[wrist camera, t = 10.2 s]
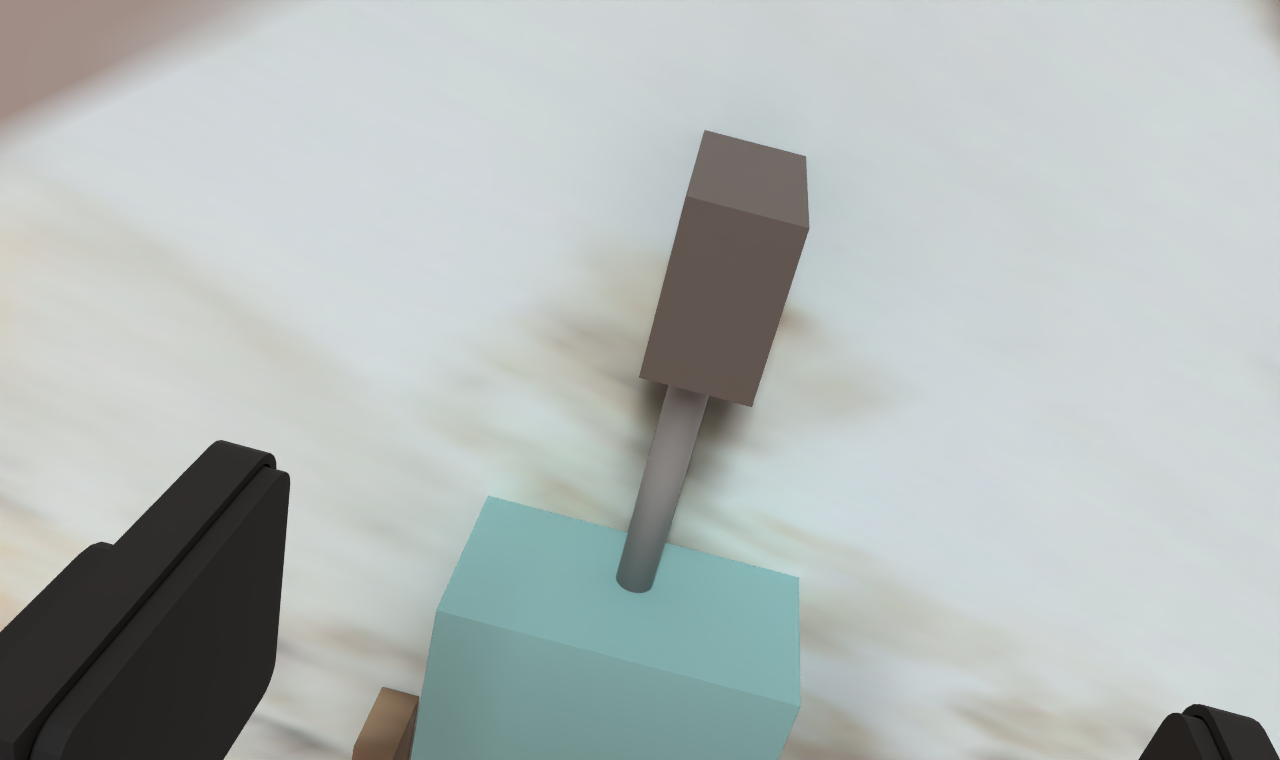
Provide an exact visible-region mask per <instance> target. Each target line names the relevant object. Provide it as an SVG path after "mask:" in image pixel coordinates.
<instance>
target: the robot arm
mask: <svg viewBox="0 0 1280 760" xmlns="http://www.w3.org/2000/svg"><path fill="white" fill-rule="evenodd" d="M289 492H290V477H289V474H288V473H287V472H284V471H280V470H276V460H275V457H274V456H273V455H272V454H271V453H267V452H264V451H260V450H256V449H253V448H249V447H245V446H241V445H238V444H234V443H230V442H227V441H223V440H220V441H216V442H214V443H213V444H212V445H211V446H209V447H208V448H207V450H206V451H205V452H204V453H203V454H202V455H201V456H200V457H199V458H198V459H197V460H196V461H195V462H194V463H193V464H192V465H191V466H190V467H189V468H188V469H187V470H186V471H185V472H184V473H183V474H182V475H181V476H180V477H179V478H178V479H177V480H176V481H175V482H174V483H173V484H172V485H171V486H170V488H169V489H168V490H167V491H166V492H165V493H164V494H163V495H162V496H161V497H160V498H159V499H158V500H157V501H156V502H155V503H154V504H153V505H152V506H151V507H150V508H149V509H148V510H147V511H146V512H145V513H144V514H143V515H142V516H141V517H140V518H139V519H138V520H137V521H136V522H135V523H134V524H133V525H132V527H131V528H130V529H129V530H128V531H127V532H126V533H125V534H124V535H123V536H122V537H121V538H120V539H119V540H118V541H117V542H116V543H115V544H114V545H112V544H108V543H105V542H99V543H96V544H93V545H90V546H89V547H88V548H87V549H85V550H84V551H83V552H81V553H80V554H79V555H78V556H77V557H76V558H75V559H74V560H73V561H72V562H71V563H70V564H69V565H68V566H67V567H66V568H65V569H64V570H63V571H62V572H61V573H60V574H59V575H58V576H57V577H56V578H55V579H54V580H53V581H52V582H51V583H50V584H49V585H48V586H47V587H46V588H45V589H44V590H43V591H42V592H41V593H40V594H39V595H38V596H36V597H35V598H34V599H33V600H32V601H31V602H30V603H29V604H28V605H27V606H26V607H25V608H24V609H23V610H22V611H21V612H20V613H19V614H18V615H17V616H16V617H15V618H14V619H13V620H12V621H11V622H10V623H9V624H8V625H7V626H6V627H5V628H4V629H3V630H2V631H1V632H0V760H223V759H224V758H225V756H226V755H227V753H228V751H229V750H230V748H231V747H232V745H233V743H234V742H235V740H236V739H237V737H238V735H239V734H240V732H241V731H242V729H243V728H244V726H245V724H246V723H247V721H248V720H249V718H250V716H251V715H252V713H253V712H254V710H255V708H256V707H257V705H258V704H259V702H260V700H261V699H262V697H263V695H264V694H265V692H266V690H267V687H268V685H269V683H270V680H271V677H272V674H273V670H274V667H275V660H276V649H277V637H278V625H279V613H280V601H281V589H282V577H283V565H284V552H285V540H286V528H287V516H288V504H289ZM1139 760H1280V759H1279V757H1278V755H1277V753H1276V751H1275V749H1274V747H1273V745H1272V743H1271V741H1270V739H1269V738H1268V736H1267V734H1266V732H1265V730H1264V729H1263V727H1262V726H1261V725H1260V723H1259V722H1257V721H1256V720H1254V719H1252V718H1250V717H1246V716H1242V715H1238V714H1235V713H1231V712H1227V711H1224V710H1220V709H1216V708H1213V707H1209V706H1205V705H1201V704H1193V705H1191V706H1190V707H1188V708H1186V709H1185V710H1184V712H1183V713H1182V714H1180V713H1172V714H1170V715H1168V716H1167V717H1166V718H1165V720H1164V721H1163V722H1162V724H1161V725H1160V727H1159V728H1158V730H1157V731H1156V733H1155V735H1154V736H1153V738H1152V739H1151V741H1150V742H1149V744H1148V746H1147V747H1146V749H1145V750H1144V752H1143V753H1142V755H1141V756H1140V758H1139Z"/></svg>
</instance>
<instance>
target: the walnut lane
mask: <svg viewBox="0 0 1280 760" xmlns="http://www.w3.org/2000/svg"><path fill="white" fill-rule="evenodd" d="M418 700H419V697H418V696H414V695H410V694H406V693H402V692H399V691H395V690H391V689H387V688H384V687H382V689H381V691H380V693H379V695H378V697H377V699H376V701H375V703H374V706H373V708H372V710H371V712H370V714H369V716H368V718H367V720H366V722H365V724H364V727H363V729H362V731H361V733H360V735H359V737H358V739H357V741H356V743H355V745H354V749H353V756H352V760H408V757H409V752H410V746H411V740H412V734H413V729H414V723H415V717H416V711H417V705H418Z"/></svg>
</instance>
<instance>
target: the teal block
mask: <svg viewBox="0 0 1280 760" xmlns="http://www.w3.org/2000/svg"><path fill="white" fill-rule="evenodd" d="M808 231H809V212H808V192H807V171H806V156H802V155H798V154H794V153H790V152H786V151H783V150H779V149H775V148H771V147H767V146H764V145H760V144H756V143H752V142H748V141H744V140H741V139H737V138H733V137H729V136H725V135H721V134H718V133H714V132H710V131H706V130H705V131H704V134H703V138H702V141H701V145H700V148H699V152H698V156H697V159H696V163H695V166H694V170H693V173H692V177H691V180H690V184H689V187H688V191H687V194H686V198H685V202H684V206H683V210H682V213H681V217H680V221H679V225H678V229H677V233H676V237H675V241H674V244H673V248H672V252H671V256H670V260H669V264H668V268H667V271H666V275H665V279H664V283H663V287H662V291H661V295H660V299H659V302H658V306H657V310H656V314H655V318H654V322H653V326H652V329H651V333H650V337H649V341H648V345H647V349H646V353H645V357H644V360H643V364H642V368H641V372H640V376H639V378H643V379H647V380H651V381H655V382H658V383H662V384H666V385H668V389H667V392H666V396H665V399H664V403H663V407H662V410H661V414H660V418H659V421H658V425H657V429H656V432H655V436H654V439H653V443H652V447H651V450H650V454H649V458H648V461H647V465H646V469H645V472H644V476H643V479H642V483H641V487H640V490H639V494H638V498H637V501H636V505H635V509H634V512H633V516H632V519H631V523H630V527H629V530H628V532H624V531H620V530H616V529H613V528H609V527H605V526H601V525H597V524H594V523H590V522H586V521H582V520H578V519H575V518H571V517H567V516H563V515H559V514H556V513H552V512H548V511H544V510H540V509H537V508H533V507H529V506H525V505H521V504H518V503H514V502H510V501H506V500H502V499H499V498H495V497H491V496H488V498H487V500H486V502H485V504H484V506H483V509H482V511H481V513H480V515H479V517H478V520H477V522H476V524H475V526H474V529H473V531H472V533H471V535H470V537H469V540H468V542H467V544H466V546H465V548H464V551H463V553H462V555H461V557H460V559H459V562H458V564H457V566H456V568H455V570H454V573H453V575H452V577H451V579H450V582H449V584H448V586H447V588H446V590H445V593H444V595H443V597H442V599H441V601H440V604H439V606H438V608H437V610H436V616H435V622H434V628H433V633H432V639H431V645H430V650H429V656H428V662H427V668H426V673H425V679H424V685H423V690H422V696H421V702H420V708H419V713H418V719H417V725H416V730H415V736H414V742H413V748H412V753H411V759H410V760H778V759H779V757H780V754H781V752H782V749H783V747H784V745H785V742H786V740H787V737H788V735H789V733H790V730H791V728H792V725H793V723H794V720H795V718H796V716H797V713H798V711H799V708H800V634H799V577H795V576H791V575H787V574H783V573H780V572H776V571H772V570H768V569H764V568H761V567H757V566H753V565H749V564H745V563H742V562H738V561H734V560H730V559H726V558H723V557H719V556H715V555H711V554H707V553H704V552H700V551H696V550H692V549H689V548H685V547H681V546H677V545H673V544H670V543H666V539H667V536H668V532H669V529H670V525H671V522H672V519H673V515H674V512H675V509H676V505H677V502H678V499H679V495H680V492H681V489H682V485H683V482H684V478H685V475H686V472H687V468H688V465H689V462H690V458H691V455H692V452H693V448H694V445H695V441H696V438H697V435H698V431H699V428H700V425H701V421H702V418H703V415H704V411H705V408H706V405H707V401H708V398H709V396H712V397H716V398H719V399H723V400H727V401H731V402H735V403H738V404H742V405H746V406H750V407H752V405H753V402H754V398H755V395H756V392H757V389H758V386H759V383H760V380H761V377H762V374H763V371H764V367H765V364H766V361H767V358H768V355H769V352H770V349H771V346H772V343H773V339H774V336H775V333H776V330H777V327H778V324H779V321H780V318H781V315H782V311H783V308H784V305H785V302H786V299H787V296H788V293H789V290H790V287H791V284H792V280H793V277H794V274H795V271H796V268H797V265H798V262H799V259H800V256H801V252H802V249H803V246H804V243H805V240H806V237H807V234H808Z"/></svg>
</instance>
